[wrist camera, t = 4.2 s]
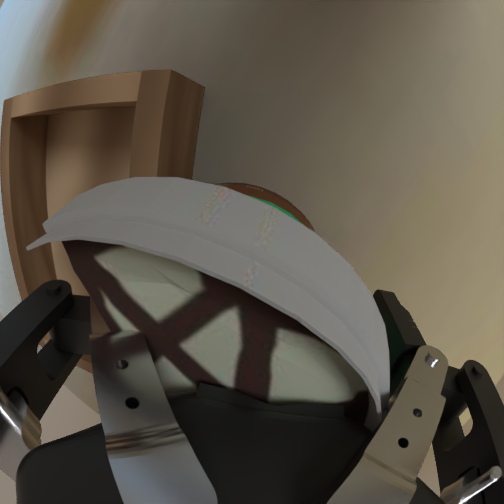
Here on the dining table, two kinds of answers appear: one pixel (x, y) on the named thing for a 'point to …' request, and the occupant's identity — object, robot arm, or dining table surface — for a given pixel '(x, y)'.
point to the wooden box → (87, 156)
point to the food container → (228, 292)
